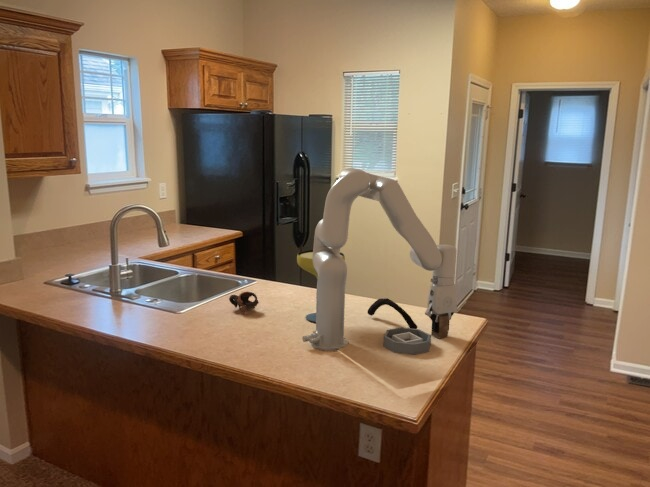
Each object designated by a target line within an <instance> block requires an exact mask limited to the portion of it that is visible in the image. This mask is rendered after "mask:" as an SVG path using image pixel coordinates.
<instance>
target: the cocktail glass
mask: <svg viewBox="0 0 650 487" xmlns="http://www.w3.org/2000/svg"><path fill="white" fill-rule="evenodd" d="M340 256H341V257H342V258H343V259H344V261H345V262H346V257H345V254H344V253H343V252H340ZM296 263H297V265H298V266H299V267H300V268H301V269H303V270H304V271H306V272H308V273H310V274H311V275H313V276H314V277H315V278H316V280H318V273H317V271H316V270H315V268H314V266H313V249H310V250H302V251H300V252H298V253H297V256H296ZM305 319H306V320H308V321H309V322H313V323H316V312H312V313H308V314H306V315H305Z"/></svg>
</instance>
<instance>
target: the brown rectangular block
mask: <svg viewBox="0 0 650 487" xmlns="http://www.w3.org/2000/svg"><path fill="white" fill-rule="evenodd" d="M435 316H436V314H435ZM438 322H439V332H438V333H436V332H434V331H432V330H431V334H430V335H431V337H432V336H433V337H434V338H437V339H440V340H441V339H445V338H448V337H449V336H448V335H449V334H448V333H449V331H448V323H449V324H450V320H449V315H447V314H439V319H438Z"/></svg>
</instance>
